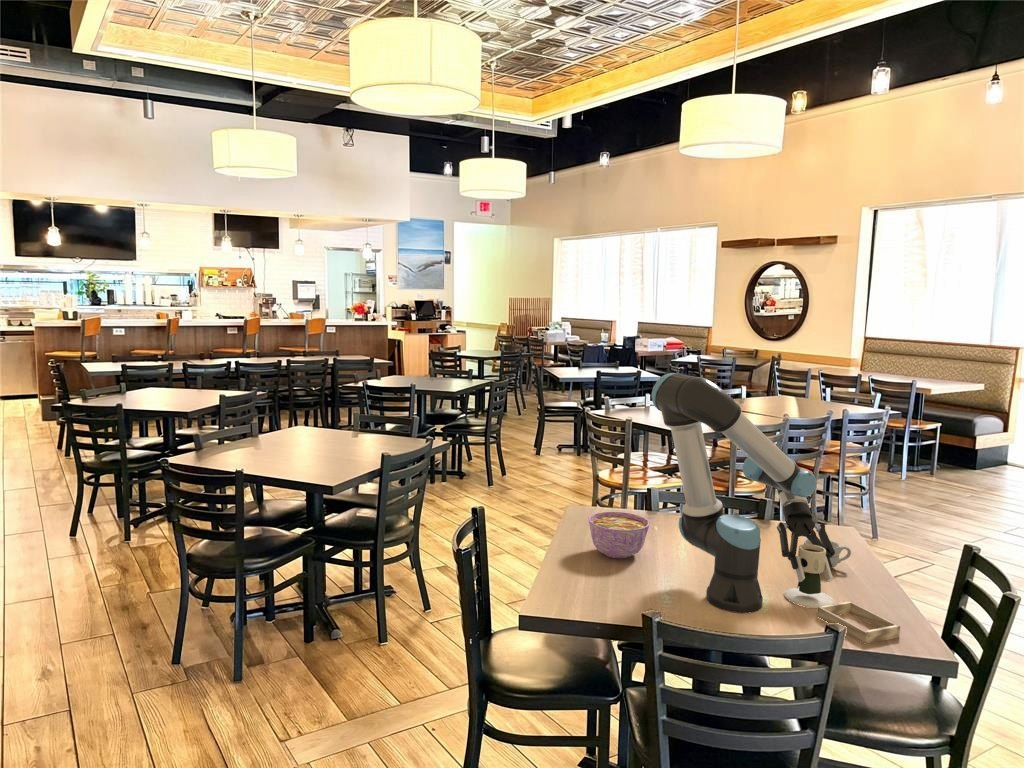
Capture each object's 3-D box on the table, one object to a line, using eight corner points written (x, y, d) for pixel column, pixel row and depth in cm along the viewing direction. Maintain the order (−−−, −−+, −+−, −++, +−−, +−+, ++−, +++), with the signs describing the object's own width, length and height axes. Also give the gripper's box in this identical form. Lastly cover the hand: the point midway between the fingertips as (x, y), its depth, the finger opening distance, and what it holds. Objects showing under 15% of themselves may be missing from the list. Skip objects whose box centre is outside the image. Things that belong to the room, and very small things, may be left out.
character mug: (788, 584, 206) (792, 541, 205) (813, 584, 206) (816, 541, 205) (804, 600, 196) (807, 554, 194) (829, 600, 196) (833, 555, 194)
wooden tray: (864, 644, 175) (865, 632, 174) (817, 617, 189) (817, 606, 189) (899, 637, 179) (900, 626, 178) (850, 611, 193) (850, 601, 193)
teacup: (800, 568, 225) (802, 544, 224) (803, 558, 234) (805, 534, 233) (848, 577, 218) (850, 552, 217) (850, 566, 228) (852, 542, 227)
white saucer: (807, 611, 193) (807, 609, 193) (774, 592, 205) (774, 590, 205) (844, 605, 197) (844, 603, 197) (809, 587, 209) (809, 585, 209)
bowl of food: (660, 561, 228) (661, 526, 226) (605, 568, 220) (607, 532, 219) (627, 541, 246) (629, 509, 245) (576, 547, 239) (577, 514, 237)
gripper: (823, 513, 214) (845, 585, 200) (758, 512, 214) (775, 584, 199) (833, 501, 208) (856, 575, 194) (766, 500, 208) (785, 574, 194)
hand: (815, 579), depth 197 cm, fingers closed on character mug, 7 cm apart
